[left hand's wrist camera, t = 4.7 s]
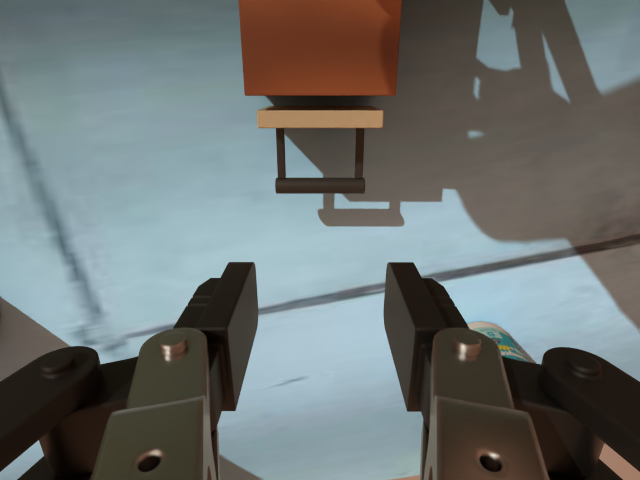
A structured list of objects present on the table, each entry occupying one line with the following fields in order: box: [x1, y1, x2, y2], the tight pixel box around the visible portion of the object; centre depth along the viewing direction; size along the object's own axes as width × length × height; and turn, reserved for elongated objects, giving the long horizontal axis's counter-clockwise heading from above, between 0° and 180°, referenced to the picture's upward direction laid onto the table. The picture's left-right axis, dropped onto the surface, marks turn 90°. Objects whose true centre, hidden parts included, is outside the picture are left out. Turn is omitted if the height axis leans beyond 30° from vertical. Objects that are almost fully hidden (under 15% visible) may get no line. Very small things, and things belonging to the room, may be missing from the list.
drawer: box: [257, 106, 384, 193], centre depth 29 cm, size 25×9×7 cm, turn 0°
